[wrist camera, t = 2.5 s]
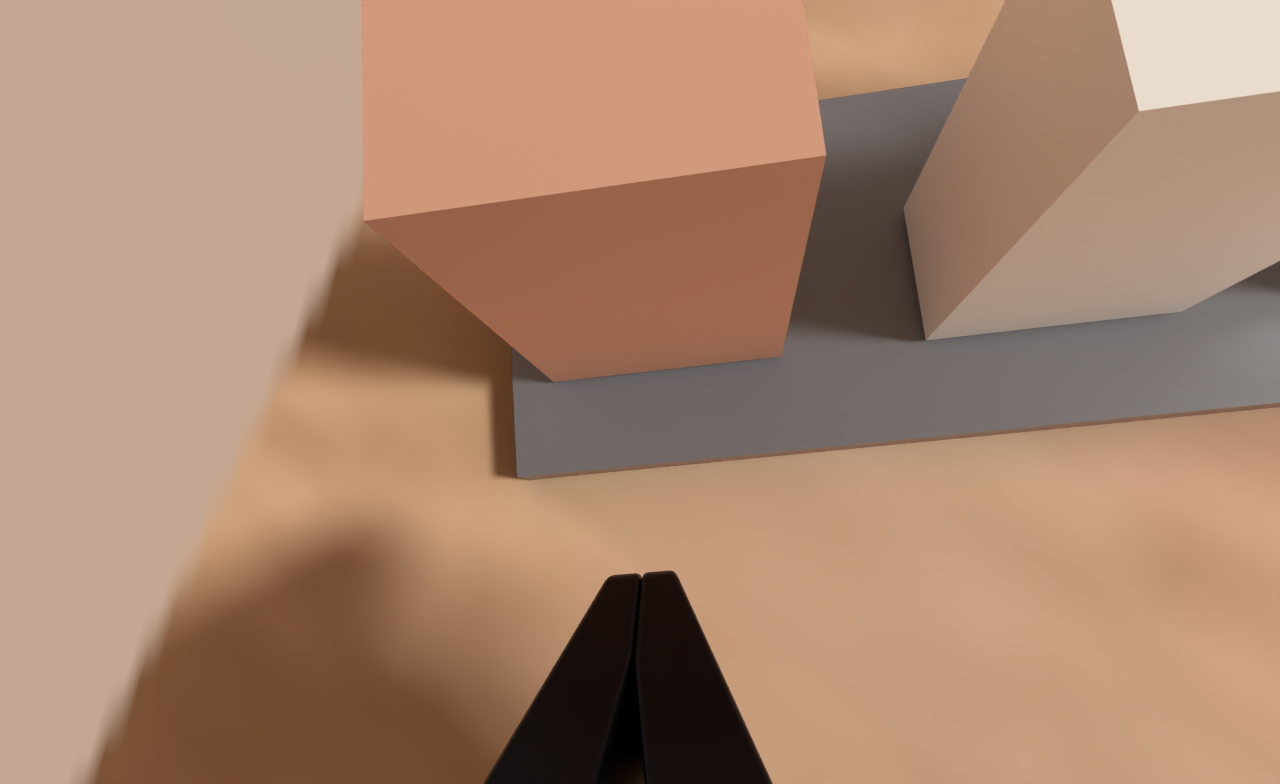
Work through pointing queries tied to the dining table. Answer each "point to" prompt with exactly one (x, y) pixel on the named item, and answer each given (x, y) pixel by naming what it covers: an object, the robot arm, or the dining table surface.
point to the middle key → (1102, 165)
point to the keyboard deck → (897, 344)
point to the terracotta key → (598, 170)
